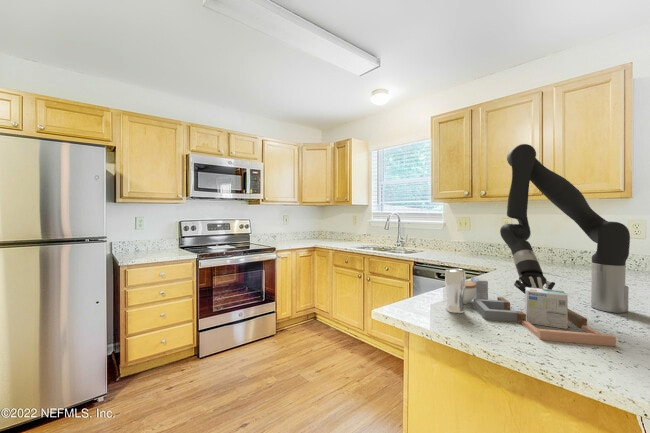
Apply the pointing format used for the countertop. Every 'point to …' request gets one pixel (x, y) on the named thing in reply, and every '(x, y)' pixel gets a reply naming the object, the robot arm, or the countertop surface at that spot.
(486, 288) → the medicine box
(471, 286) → the lidded jar
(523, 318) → the open corridor
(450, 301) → the silver metal can
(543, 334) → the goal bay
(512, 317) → the frame
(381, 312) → the countertop surface
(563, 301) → the light bulb box
